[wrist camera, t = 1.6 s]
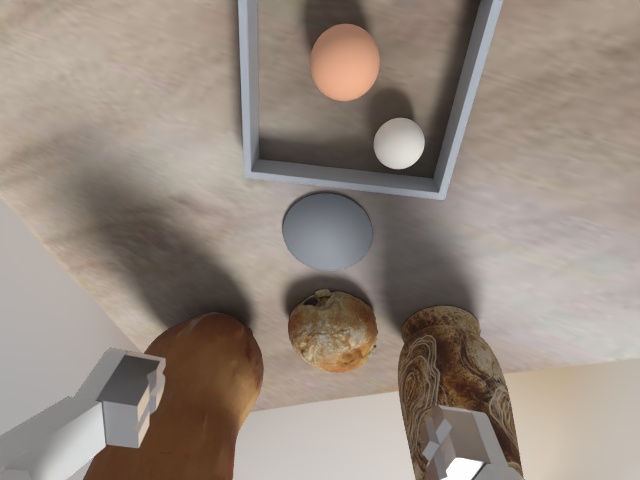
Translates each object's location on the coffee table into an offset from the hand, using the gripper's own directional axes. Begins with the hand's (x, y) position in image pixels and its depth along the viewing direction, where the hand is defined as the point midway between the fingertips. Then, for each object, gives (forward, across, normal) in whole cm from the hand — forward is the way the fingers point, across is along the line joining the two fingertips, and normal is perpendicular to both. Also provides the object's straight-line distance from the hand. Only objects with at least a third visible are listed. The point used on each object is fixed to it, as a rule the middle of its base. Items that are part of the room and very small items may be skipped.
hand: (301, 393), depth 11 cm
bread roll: (+26, -6, +20) cm, 34 cm away
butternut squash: (+28, +7, +26) cm, 38 cm away
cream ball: (+25, -6, -3) cm, 26 cm away
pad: (+26, -3, +8) cm, 27 cm away
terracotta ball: (+25, 0, -8) cm, 26 cm away
